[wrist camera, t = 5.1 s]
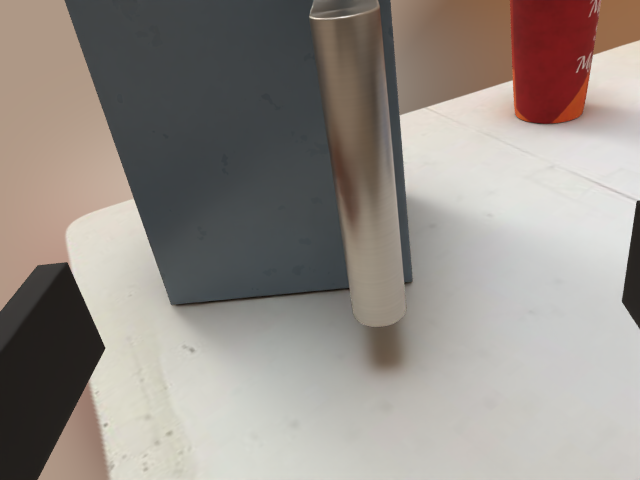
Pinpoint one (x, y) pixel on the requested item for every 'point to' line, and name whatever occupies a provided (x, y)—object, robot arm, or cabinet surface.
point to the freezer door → (259, 143)
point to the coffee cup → (552, 57)
